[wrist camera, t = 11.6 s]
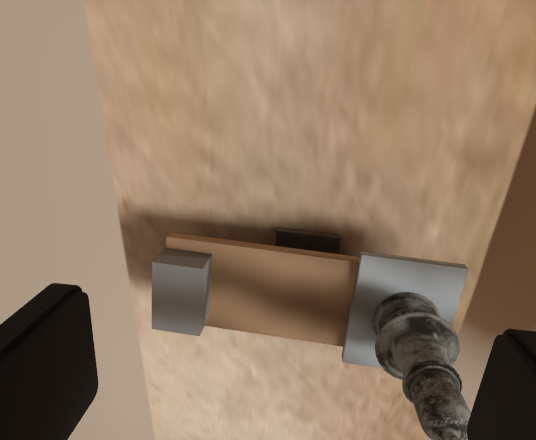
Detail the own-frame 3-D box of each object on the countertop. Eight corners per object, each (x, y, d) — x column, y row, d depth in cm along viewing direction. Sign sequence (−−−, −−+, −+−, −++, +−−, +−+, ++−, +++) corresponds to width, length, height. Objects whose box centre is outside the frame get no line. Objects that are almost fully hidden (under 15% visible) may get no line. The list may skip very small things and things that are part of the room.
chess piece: (389, 362, 33) (429, 505, 21) (355, 308, 31) (378, 427, 20) (456, 334, 31) (538, 470, 20) (423, 276, 30) (489, 385, 19)
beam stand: (196, 217, 38) (182, 233, 33) (424, 244, 37) (441, 265, 32) (193, 290, 40) (180, 314, 36) (406, 317, 39) (420, 346, 35)
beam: (171, 221, 33) (152, 238, 29) (459, 258, 31) (480, 282, 27) (169, 321, 36) (151, 349, 32) (431, 361, 34) (446, 396, 30)
